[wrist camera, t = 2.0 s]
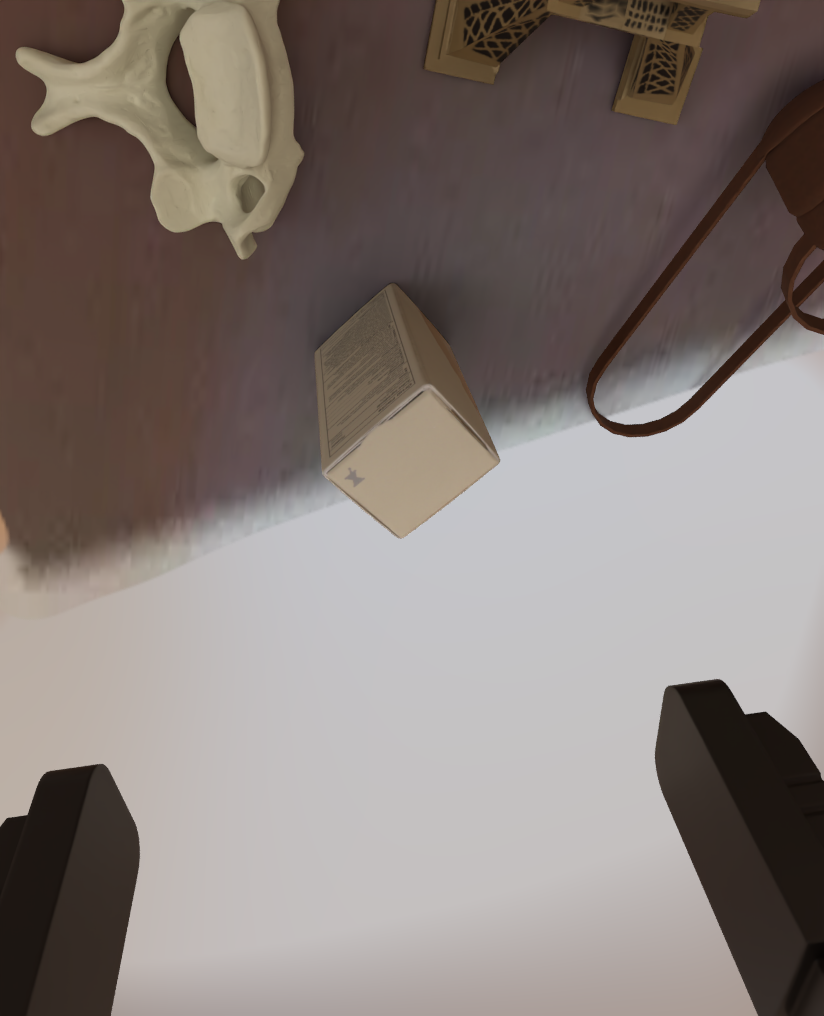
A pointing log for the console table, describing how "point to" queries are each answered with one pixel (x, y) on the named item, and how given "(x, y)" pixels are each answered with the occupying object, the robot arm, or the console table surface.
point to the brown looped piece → (820, 213)
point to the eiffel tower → (610, 3)
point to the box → (397, 415)
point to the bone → (218, 109)
